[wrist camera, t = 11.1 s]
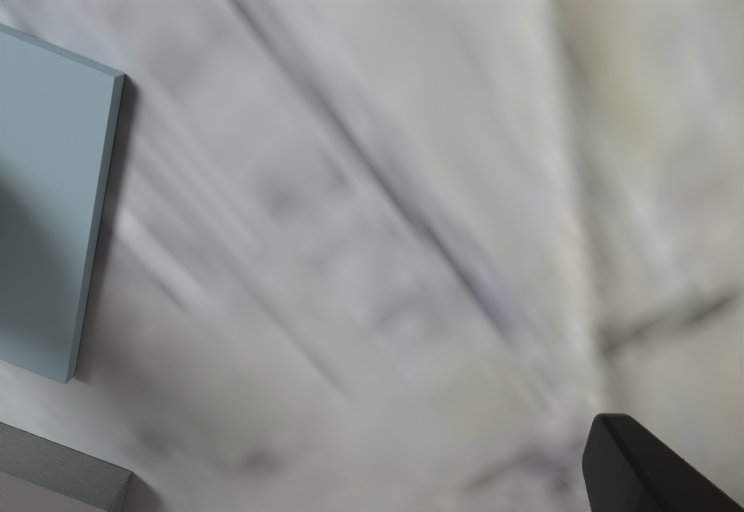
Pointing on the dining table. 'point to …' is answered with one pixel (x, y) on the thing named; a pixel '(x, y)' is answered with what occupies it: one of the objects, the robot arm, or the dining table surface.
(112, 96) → the mat
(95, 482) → the socket block
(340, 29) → the dining table surface
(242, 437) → the dining table surface
